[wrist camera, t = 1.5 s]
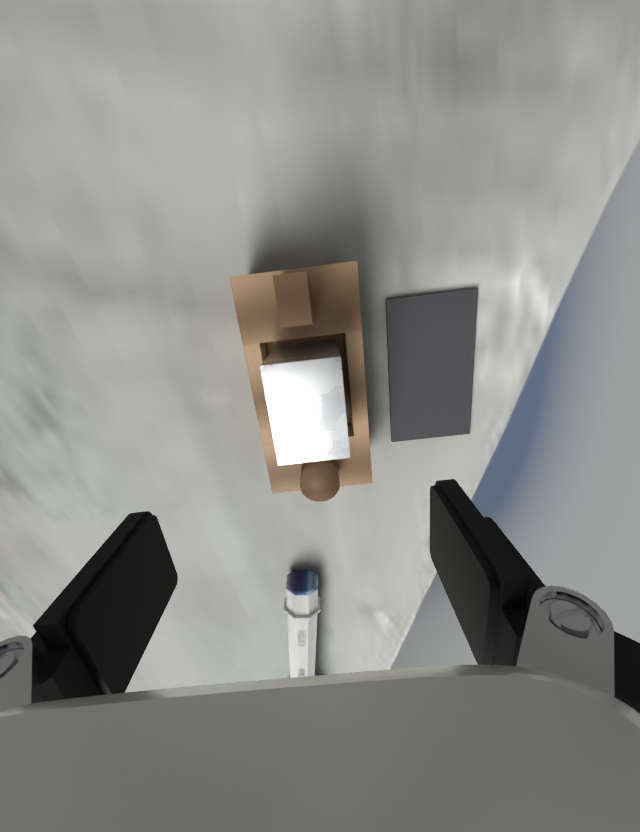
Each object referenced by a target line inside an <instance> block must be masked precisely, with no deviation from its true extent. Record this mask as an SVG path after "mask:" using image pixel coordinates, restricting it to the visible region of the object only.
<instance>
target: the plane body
mask: <svg viewBox="0 0 640 832" xmlns="http://www.w3.org/2000/svg"><path fill="white" fill-rule="evenodd" d="M229 278H230V283H231V288H232V293H233V298H234V303H235V308H236V313H237V318H238V323H239V328H240V333H241V338H242V343H243V348H244V353H245V358H246V363H247V368H248V373H249V378H250V383H251V388H252V393H253V398H254V403H255V408H256V413H257V418H258V423H259V428H260V433H261V438H262V443H263V448H264V453H265V458H266V463H267V468H268V473H269V478H270V483H271V488H272V493H280V492H289V491H299V490H301V491H302V493H303V494H304V495H305V496H306V497H307V498H309V499H310V500H313V501H326V500H329V499H331V498H332V497H334V496H335V495H336V494H337V492H338V490H339V487H340V486H347V485H357V484H367V483H372V470H371V455H370V440H369V425H368V410H367V395H366V380H365V365H364V350H363V335H362V320H361V305H360V290H359V275H358V261H350V262H342V263H334V264H326V265H319V266H311V267H303V268H295V269H287V270H279V271H271V272H264V273H256V274H248V275H240V276H232V277H229ZM329 339H335V342H336V344H337V347H338V350H339V353H340V355H341V363H342V373H343V384H344V395H345V406H346V417H347V427H348V438H349V449H350V458H345V459H335V460H326V461H316V462H307V463H298V464H288V465H279V466H278V462H277V456H276V451H275V446H274V440H273V435H272V429H271V424H270V419H269V413H268V408H267V402H266V397H265V392H264V386H263V381H262V375H261V370H260V365H261V364H262V363H263V361H264V360H265V359H266V357H267V356H268V355H269V354H270V352H271V351H272V350H273V349H274V347H275V346H279V345H287V344H296V343H304V342H313V341H321V340H329Z"/></svg>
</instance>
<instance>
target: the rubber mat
mask: <svg viewBox="0 0 640 832" xmlns="http://www.w3.org/2000/svg"><path fill="white" fill-rule="evenodd" d="M477 296H478V288H475V289H467V290H459V291H451V292H443V293H435V294H426V295H418V296H410V297H402V298H394V299H386V323H387V348H388V373H389V398H390V423H391V441H392V442H396V441H405V440H415V439H424V438H433V437H443V436H452V435H461V434H470V420H471V402H472V385H473V367H474V349H475V332H476V314H477Z"/></svg>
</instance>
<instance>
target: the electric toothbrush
mask: <svg viewBox="0 0 640 832" xmlns="http://www.w3.org/2000/svg"><path fill="white" fill-rule="evenodd" d="M286 594H287V596H286V597H285V603H284V612H285V613H286V614H287V624H288V642H289V660H290V678H294V677H306V676H315V657H316V637H317V616H318V613H319V612H321V602H320V597H319V596H318V575H317V574H316V573H314V572H313V571H312V570H294V571H293V572H291V573H290V574H288V575H287V583H286Z"/></svg>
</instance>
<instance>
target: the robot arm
mask: <svg viewBox="0 0 640 832" xmlns="http://www.w3.org/2000/svg"><path fill="white" fill-rule="evenodd" d="M430 554H431V558H432V561H433V563H434V566H435V568H436V570H437V573H438V575H439V577H440V579H441V582H442V584H443V586H444V588H445V591H446V593H447V595H448V598H449V600H450V602H451V605H452V607H453V609H454V611H455V614H456V616H457V618H458V620H459V623H460V625H461V627H462V630H463V632H464V634H465V636H466V639H467V641H468V643H469V645H470V648H471V650H472V652H473V655H474V657H475V659H476V661H477V663H478V665H454V666H438V667H422V668H406V669H392V670H380V671H367V672H355V673H343V674H331V675H318V676H306V677H294V678H283V679H271V680H260V681H248V682H237V683H226V684H214V685H203V686H192V687H181V688H171V689H160V690H149V691H139V692H128V693H124V692H125V690H126V688H127V686H128V684H129V682H130V680H131V678H132V676H133V674H134V672H135V670H136V668H137V666H138V664H139V661H140V659H141V657H142V655H143V653H144V651H145V649H146V647H147V645H148V643H149V641H150V639H151V637H152V635H153V633H154V631H155V628H156V626H157V624H158V622H159V620H160V618H161V616H162V614H163V612H164V610H165V608H166V606H167V604H168V602H169V600H170V598H171V595H172V593H173V591H174V589H175V587H176V585H177V579H178V578H177V572H176V570H175V567H174V564H173V561H172V558H171V556H170V553H169V550H168V547H167V544H166V542H165V539H164V536H163V533H162V530H161V528H160V525H159V522H158V519H157V517H156V516H155V515H152V514H151V513H150V512H148V511H147V512H137V513H131V514H129V515H128V516H127V517H126V518H125V519H124V521H123V522H122V523H121V524H120V525H119V526H118V527H117V529H116V530H115V531H114V532H113V533H112V534H111V536H110V537H109V538H108V539H107V540H106V541H105V543H104V544H103V545H102V546H101V547H100V548H99V550H98V551H97V552H96V553H95V554H94V555H93V557H92V558H91V559H90V560H89V561H88V562H87V563H86V565H85V566H84V567H83V568H82V569H81V570H80V572H79V573H78V574H77V575H76V576H75V577H74V579H73V580H72V581H71V582H70V583H69V584H68V586H67V587H66V588H65V589H64V590H63V591H62V593H61V594H60V595H59V596H58V597H57V598H56V599H55V601H54V602H53V603H52V604H51V605H50V606H49V608H48V609H47V610H46V611H45V612H44V613H43V615H42V616H41V617H40V618H39V619H38V620H37V622H36V623H35V624H34V625H33V627H34V628H35V630H36V633H35V634H34V635H33V637H32V638H29V637H27V636H16V637H12V638H8V639H6V640H4V641H2V642H0V832H640V643H638V642H636V641H634V640H632V639H630V638H628V637H625V636H623V635H621V634H619V633H617V632H615V631H614V629H613V625H612V622H611V620H610V619H609V617H608V616H607V614H606V613H605V612H604V611H603V610H602V609H601V608H600V607H599V606H598V605H597V604H596V603H595V602H593V601H592V600H591V599H589V598H588V597H586V596H585V595H582V594H580V593H578V592H576V591H574V590H571V589H567V588H564V587H560V586H545V585H544V584H543V583H542V582H541V580H540V579H539V578H538V576H537V575H536V574H535V572H534V571H533V570H532V569H531V568H530V566H529V565H528V564H527V562H526V561H525V560H524V559H523V557H522V556H521V555H520V553H519V552H518V551H517V550H516V549H515V547H514V546H513V545H512V543H511V542H510V541H509V540H508V539H507V537H506V536H505V535H504V533H503V532H502V531H501V529H500V528H499V527H498V526H497V524H496V523H495V522H494V521H493V520H492V519H491V518H489V517H485V518H484V517H483V516H482V515H481V513H480V512H479V511H478V509H477V508H476V507H475V505H474V504H473V503H472V501H471V500H470V499H469V497H468V496H467V495H466V493H465V492H464V491H463V490H462V488H461V487H460V486H459V484H458V483H457V482H456V481H455V480H454V479H451V480H441V481H436V483H435V486H431V488H430Z"/></svg>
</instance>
